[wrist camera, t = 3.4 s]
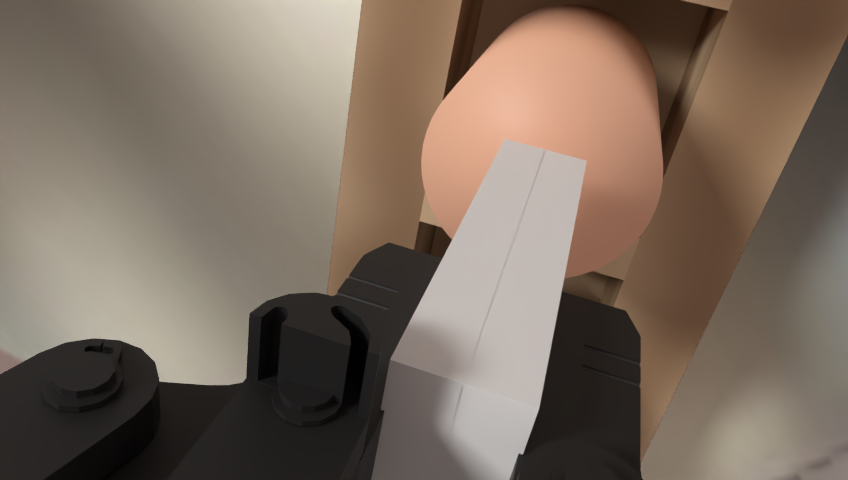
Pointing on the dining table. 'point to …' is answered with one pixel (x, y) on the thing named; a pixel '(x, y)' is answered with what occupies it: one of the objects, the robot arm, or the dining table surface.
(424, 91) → the wooden peg tray
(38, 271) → the dining table surface
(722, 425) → the dining table surface
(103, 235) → the dining table surface
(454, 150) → the peach cylinder
